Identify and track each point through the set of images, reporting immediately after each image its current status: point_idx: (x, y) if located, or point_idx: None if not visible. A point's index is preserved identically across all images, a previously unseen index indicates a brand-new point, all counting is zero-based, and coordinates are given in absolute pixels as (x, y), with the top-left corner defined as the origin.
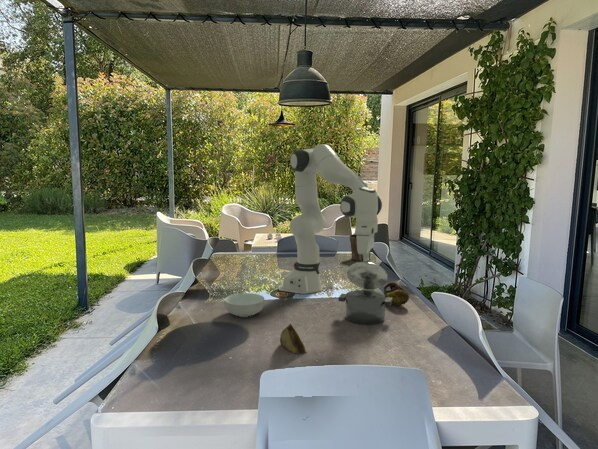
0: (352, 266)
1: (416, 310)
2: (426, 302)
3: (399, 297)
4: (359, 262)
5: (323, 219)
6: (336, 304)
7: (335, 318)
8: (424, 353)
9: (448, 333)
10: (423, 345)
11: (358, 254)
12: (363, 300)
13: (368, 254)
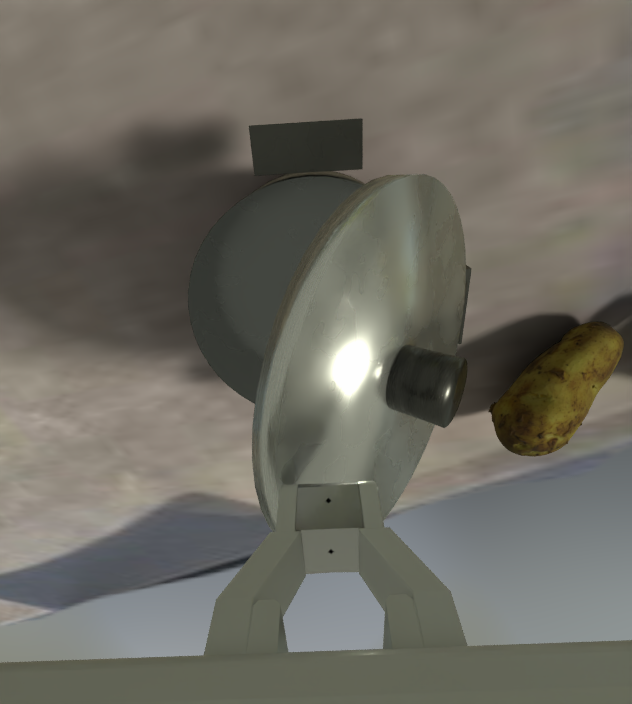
0: (287, 301)
1: (475, 441)
2: (587, 462)
3: (499, 419)
4: (269, 427)
5: None
6: (521, 30)
7: (252, 116)
8: (80, 494)
9: (268, 531)
10: (136, 488)
11: None
12: (201, 329)
13: (379, 599)
